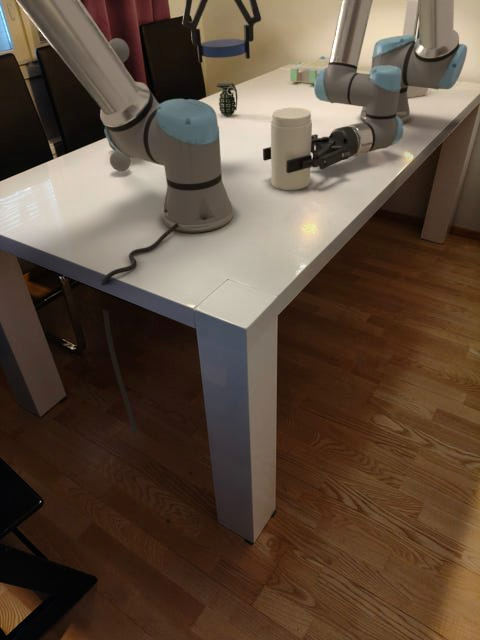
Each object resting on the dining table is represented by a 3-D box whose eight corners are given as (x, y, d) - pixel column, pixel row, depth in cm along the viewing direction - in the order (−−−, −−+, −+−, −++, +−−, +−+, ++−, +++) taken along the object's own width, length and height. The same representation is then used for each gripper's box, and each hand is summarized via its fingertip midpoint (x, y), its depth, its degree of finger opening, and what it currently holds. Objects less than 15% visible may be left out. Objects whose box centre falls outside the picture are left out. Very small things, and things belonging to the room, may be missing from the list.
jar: (264, 186, 119) (263, 116, 109) (281, 172, 126) (282, 105, 116) (299, 192, 115) (301, 120, 105) (315, 178, 122) (319, 109, 112)
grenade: (217, 117, 168) (214, 86, 162) (221, 112, 172) (219, 82, 166) (235, 117, 166) (233, 86, 160) (239, 113, 171) (238, 82, 165)
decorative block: (312, 54, 215) (354, 57, 206) (311, 70, 219) (352, 74, 210) (281, 65, 199) (325, 69, 190) (281, 83, 203) (324, 87, 194)
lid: (248, 55, 110) (247, 44, 109) (202, 59, 109) (201, 48, 108) (243, 47, 118) (243, 37, 117) (200, 51, 118) (199, 40, 116)
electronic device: (396, 99, 175) (410, -1, 157) (386, 94, 181) (398, -2, 163) (427, 95, 178) (444, -4, 159) (416, 90, 183) (431, -5, 165)
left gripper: (161, -56, 97) (176, 66, 111) (274, -64, 99) (275, 58, 112) (161, -56, 103) (174, 60, 117) (267, -63, 105) (269, 52, 118)
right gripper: (378, 168, 118) (302, 191, 110) (321, 144, 133) (251, 162, 125) (382, 137, 113) (303, 158, 105) (323, 116, 129) (250, 133, 120)
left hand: (224, 59), depth 115 cm, fingers closed on lid, 10 cm apart
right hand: (275, 160), depth 115 cm, fingers closed on jar, 9 cm apart
